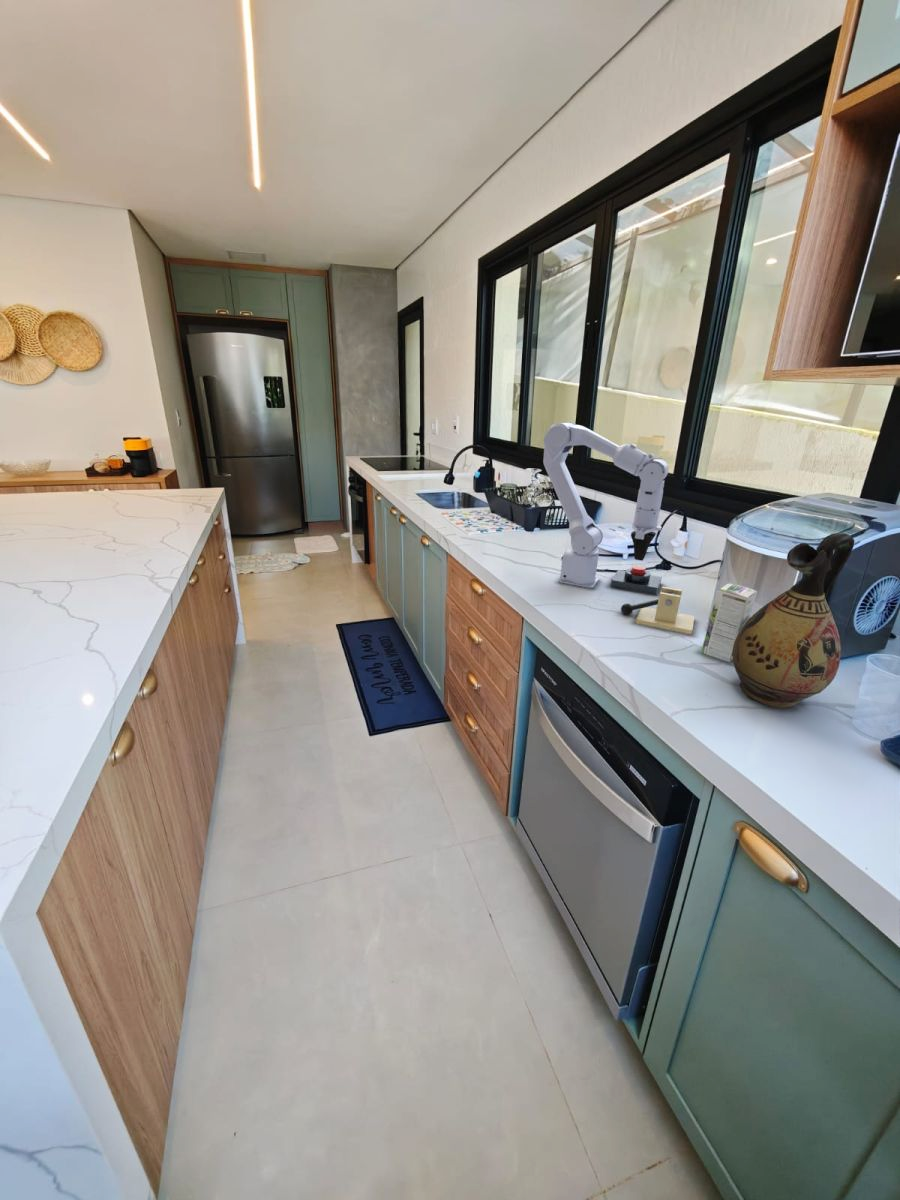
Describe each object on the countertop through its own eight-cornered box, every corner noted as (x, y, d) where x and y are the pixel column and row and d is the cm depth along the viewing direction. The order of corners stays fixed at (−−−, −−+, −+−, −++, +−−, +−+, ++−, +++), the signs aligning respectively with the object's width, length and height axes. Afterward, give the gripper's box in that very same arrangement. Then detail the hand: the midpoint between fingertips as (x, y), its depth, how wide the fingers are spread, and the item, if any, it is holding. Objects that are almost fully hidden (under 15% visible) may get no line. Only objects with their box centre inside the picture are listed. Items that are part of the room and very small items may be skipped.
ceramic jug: (783, 729, 81) (843, 551, 70) (705, 681, 94) (744, 525, 83) (848, 706, 88) (913, 540, 76) (766, 665, 101) (811, 517, 89)
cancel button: (629, 574, 139) (630, 568, 138) (632, 570, 142) (633, 564, 141) (643, 576, 137) (644, 570, 137) (645, 572, 140) (646, 566, 140)
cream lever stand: (635, 623, 118) (640, 592, 115) (641, 610, 125) (646, 581, 122) (691, 635, 112) (698, 603, 110) (693, 620, 120) (700, 590, 117)
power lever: (622, 617, 122) (618, 607, 121) (624, 613, 124) (620, 603, 124) (677, 604, 115) (673, 593, 114) (678, 600, 117) (674, 589, 117)
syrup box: (710, 644, 108) (726, 581, 103) (740, 654, 105) (758, 589, 99) (700, 653, 105) (716, 588, 99) (730, 663, 101) (748, 597, 95)
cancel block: (610, 587, 139) (612, 573, 138) (617, 576, 148) (619, 563, 146) (656, 595, 134) (658, 581, 133) (660, 584, 143) (663, 570, 141)
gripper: (660, 515, 120) (650, 569, 125) (668, 505, 131) (658, 554, 137) (630, 512, 123) (621, 564, 128) (640, 501, 135) (631, 550, 140)
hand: (639, 559), depth 133 cm, fingers closed
